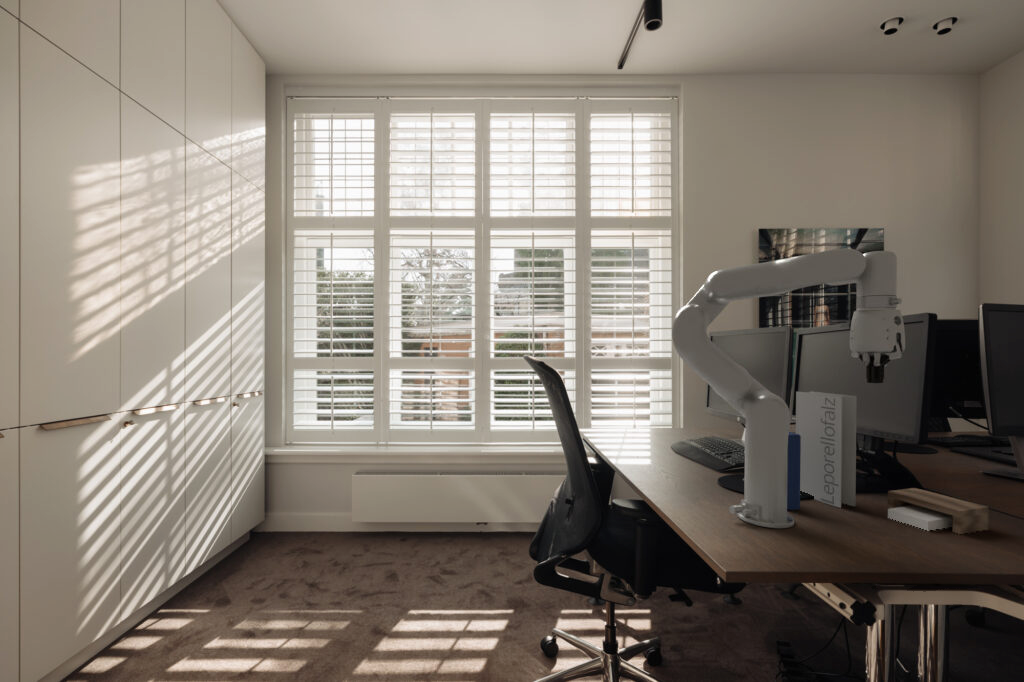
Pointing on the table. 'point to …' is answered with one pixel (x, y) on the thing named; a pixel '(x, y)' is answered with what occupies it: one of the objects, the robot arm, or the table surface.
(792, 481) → the electronic device
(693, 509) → the table surface
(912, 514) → the white sponge pad
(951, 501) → the overhang shelf
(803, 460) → the brochure
